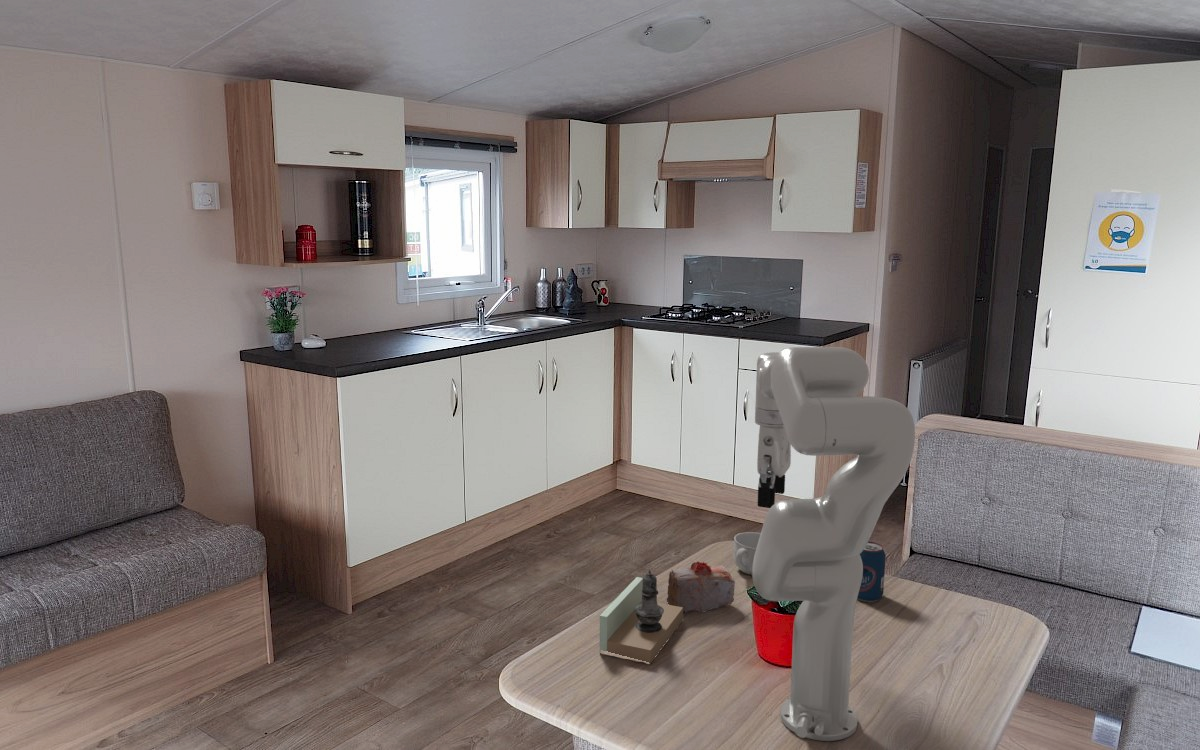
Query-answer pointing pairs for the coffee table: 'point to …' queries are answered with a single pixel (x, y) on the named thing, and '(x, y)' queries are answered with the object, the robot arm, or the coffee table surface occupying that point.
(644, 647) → the cleat board
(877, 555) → the soda can
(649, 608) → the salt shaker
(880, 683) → the coffee table surface
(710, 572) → the food item
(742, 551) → the teacup
